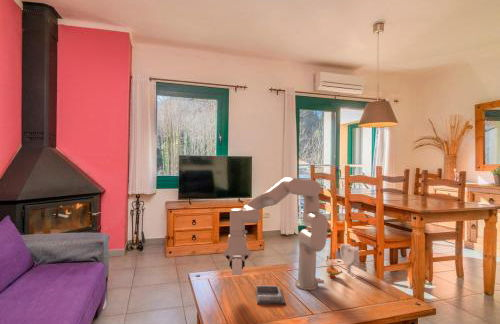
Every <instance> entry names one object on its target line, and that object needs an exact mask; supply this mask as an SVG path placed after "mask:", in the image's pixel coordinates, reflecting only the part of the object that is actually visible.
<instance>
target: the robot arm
mask: <svg viewBox="0 0 500 324" xmlns="http://www.w3.org/2000/svg"><path fill="white" fill-rule="evenodd" d="M321 190H322V185H321V184H320V183H319V182H318V181H316V180H311V179H307V178H303V179H302V178H296V177H291V176H290V177H289V176H286V177H283V178H282V179H281V180H279V181H278V182H277V183H276V184H274V186H272V187H270V188H269V189H267V191H265V192H263V193H261V194H260V195H257V196H256V197H254V198H252V199H251V200H250V201H248V202H247V203H246V204H245V205H244V206H243V207H241V208H239V207H238V208H237V207H234V208H231V209H230V212H229V234H228V238H227V246H226V248H225V250H224V251H223V252H222V255H223V256H224V257H225V259H227V260H228V261H229V268H230V270H232V256H242V270H244V267H245V265H246V260H247V259H248V258H249V257H251V256H252V252H251V251H250V249H249V247H248V241H247V240H248V239H247V235H246V234H248V230H246V229H245V226H246V225H245V223H246V224H255V223H258V222H259V221H260V220H261V217H262V215H261V212H260V210H262V209H264V208H267V207H272V206H276V205H277V204H279V203H280V202H281V201H283V199H285V198H286V197H287V196H288V195H290V194H292V195H296V196H302V198H303V213H302V223H303V225H304V226H305V227H307V228H303V229H301V230H300V231H299V232H298V235H297V243H298V274H297V275H298V277H297V279H296V280H295V281H294V282H295V283H294V285H295V286H296V287H297V288H298V289H301V290H304V291H314V290H316V289H318V288H319V284H322V285H323V284H325V281H324V279H321V278H320V277H319V278H317V277H316V276H317V274H316V271H317V253H318V252H319V253H320V252H321V251H323V250H324V249H325V247H326V244H327V243H326V242H327V236H328V230H329V229H328V228H329V227H328V226H329V222H328V218H327V217H326V216H325V214H323V213H320V197H319V194H320V193H321V192H322V191H321Z"/></svg>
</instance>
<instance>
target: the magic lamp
mask: <svg viewBox="0 0 500 324" xmlns="http://www.w3.org/2000/svg"><path fill="white" fill-rule="evenodd" d="M329 258H330V256H329V255H326V260H325V261H326V262H325V263H326V266H327V268H326V272H327V274H329V275H327V278H329V277H330V278H329V279H331V278H336V277H337V276H338V275H340V274H344V273H343V272H341V271H339V270H338V269H337V268H335V267H334V265H333V264H329ZM336 279H337V278H336Z"/></svg>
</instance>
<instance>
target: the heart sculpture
mask: <svg viewBox="0 0 500 324" xmlns="http://www.w3.org/2000/svg"><path fill="white" fill-rule="evenodd" d="M339 251H340V252H339V253H340V256H341V258H342V261H343V262H344V265H345V267H346V269H341V270H342V272H344V273H345V274H347V275H348V276H350V277H357V276H356V275H355V274H354V273H352V271H351V269H352V268H351V267H352V266H354V265H356V264H357V263H358V261H359V259H360V258H359V257H360V251H359V249H358V248H357V247H355V246H352V245H351V244H349V243H341V244H340V246H339ZM344 273H343V274H344ZM351 273H352V274H351ZM345 274H344V275H345ZM347 275H346V276H347ZM354 275H355V276H354ZM348 276H347V277H348Z"/></svg>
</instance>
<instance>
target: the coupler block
mask: <svg viewBox="0 0 500 324" xmlns="http://www.w3.org/2000/svg"><path fill="white" fill-rule="evenodd" d="M242 275H243V269H242V256H232V269H231V276H242Z"/></svg>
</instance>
